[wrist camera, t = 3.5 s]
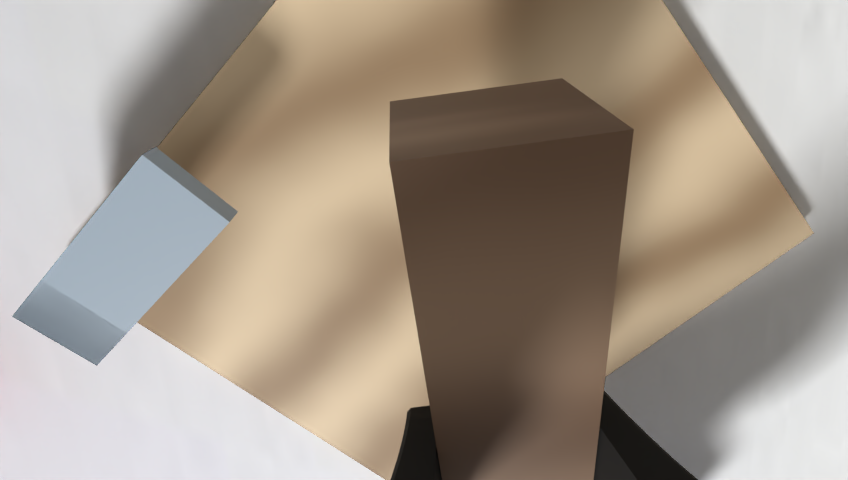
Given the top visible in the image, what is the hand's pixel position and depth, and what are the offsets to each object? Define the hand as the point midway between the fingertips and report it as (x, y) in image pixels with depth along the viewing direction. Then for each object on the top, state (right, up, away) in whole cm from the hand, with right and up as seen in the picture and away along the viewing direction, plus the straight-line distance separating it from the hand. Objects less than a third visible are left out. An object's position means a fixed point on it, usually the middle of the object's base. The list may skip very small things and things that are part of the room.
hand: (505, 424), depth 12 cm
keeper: (-11, +6, +6) cm, 14 cm away
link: (0, 0, +2) cm, 2 cm away
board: (-1, +5, +8) cm, 9 cm away
